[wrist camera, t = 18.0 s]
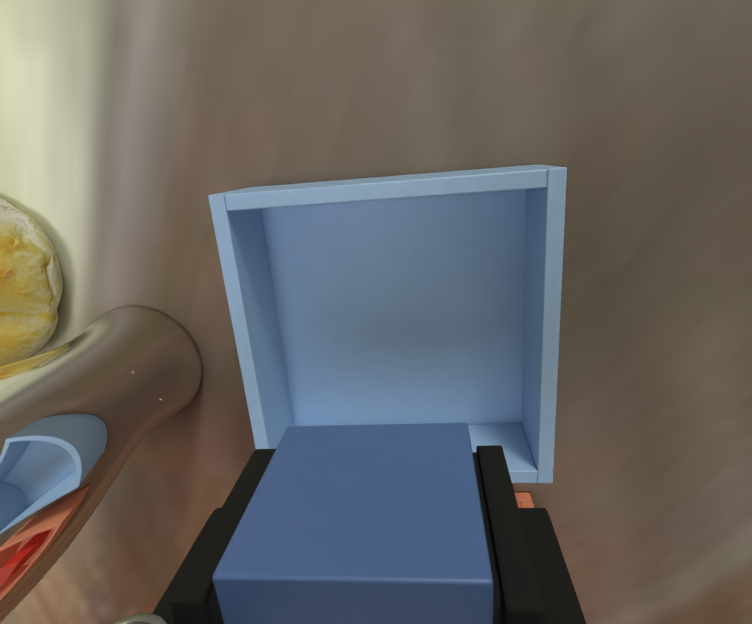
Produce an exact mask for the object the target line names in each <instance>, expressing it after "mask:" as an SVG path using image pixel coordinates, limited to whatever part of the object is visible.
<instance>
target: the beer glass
mask: <svg viewBox="0 0 752 624" xmlns="http://www.w3.org/2000/svg"><path fill="white" fill-rule="evenodd" d="M201 378H202V366H201V360H200V357H199V354H198V351H197V349H196V346H195V345H194V343H193V341H192V340H191V338H190V337H189V335H188V334H187V333H186V332H185V330H184V329H183V328H182V327H181V326H180V325H178V324H177V323H176V322H175V321H174V320H172V319H171V318H169V317H168V316H166V315H164V314H162V313H160V312H158V311H156V310H153V309H150V308H146V307H140V306H126V307H119V308H116V309H113V310H110V311H108V312H106V313H105V314H103V315H101V316H100V317H98V318H97V319H96V320H95V321H93V322H92V323H91V324H90V325H89V326H88V327H86V328H85V329H84V330H83V331H82V332H81V333H80V334H79V335H77V336H76V337H75V338H73V339H72V340H71V341H69V342H67V343H66V344H64V345H62V346H60V347H58V348H55V349H53V350H51V351H49V352H45V353H42V354H39V355H36V356H33V357H30V358H27V359H23V360H20V361H16V362H13V363H10V364H6V365H3V366H0V623H1V622H2V621H3V620H4V619H5V618H6V617H7V616H8V615H9V614H10V613H11V612H12V611H13V610H14V609H15V608H16V607H17V606H18V604H19V603H20V602H21V601H22V600H23V599H24V598H25V597H26V596H27V595H28V594H29V593H30V592H31V591H32V590H33V589H34V587H35V586H36V585H37V584H38V583H39V582H40V580H41V579H42V578H43V577H44V576H45V575H46V573H47V572H48V571H49V570H50V569H51V568H52V566H53V565H54V564H55V563H56V562H57V561H58V559H59V558H60V557H61V556H62V555H63V554H64V552H65V551H66V550H67V549H68V547H69V546H70V544H71V543H72V542H73V540H74V539H75V538H76V536H77V535H78V533H79V532H80V531H81V529H82V528H83V527H84V525H85V524H86V522H87V521H88V520H89V518H90V517H91V516H92V514H93V513H94V511H95V510H96V508H97V506H98V505H99V503H100V502H101V500H102V499H103V497H104V496H105V494H106V493H107V491H108V490H109V488H110V487H111V485H112V483H113V482H114V480H115V479H116V477H117V476H118V474H119V472H120V471H121V469H122V468H123V466H124V464H125V463H126V461H127V460H128V458H129V457H130V456H131V454H132V453H133V451H134V450H135V448H136V447H137V445H138V444H139V443H140V442H141V441H142V440H143V438H144V437H145V436H146V435H147V434H148V433H149V432H151V431H152V430H153V429H154V428H155V427H157V426H158V425H159V424H161V423H163V422H164V421H166V420H167V419H169V418H171V417H172V416H174V415H175V414H177V413H178V412H180V411H181V410H183V409H184V408H185V407H186V406H187V405H188V404H189V403H190V402H191V401H192V400H193V399H194V397H195V395H196V394H197V392H198V389H199V387H200V383H201Z"/></svg>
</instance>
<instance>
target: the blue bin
mask: <svg viewBox="0 0 752 624" xmlns="http://www.w3.org/2000/svg"><path fill="white" fill-rule="evenodd" d="M566 179H567V168H566V167H557V166H548V165H525V166H512V167H500V168H487V169H475V170H462V171H449V172H437V173H424V174H412V175H399V176H387V177H374V178H362V179H349V180H336V181H324V182H311V183H299V184H286V185H274V186H261V187H249V188H244V189H239V190H234V191H229V192H224V193H219V194H213V195H209V196H208V198H209V203H210V209H211V214H212V219H213V225H214V230H215V235H216V241H217V246H218V251H219V257H220V262H221V267H222V272H223V278H224V283H225V288H226V294H227V299H228V304H229V310H230V315H231V320H232V326H233V331H234V336H235V341H236V347H237V352H238V357H239V363H240V368H241V373H242V379H243V384H244V389H245V394H246V400H247V405H248V410H249V416H250V421H251V426H252V432H253V437H254V442H255V448H256V449H276V448H277V446H278V444H279V442H280V440H281V438H282V436H283V434H284V432H285V431H286V429H287V427H289V426H329V425H377V424H425V423H467V424H468V428H469V434H470V440H471V446H472V452H476V447H477V446H489V445H501V446H502V448H503V451H504V455H505V459H506V463H507V466H508V470H509V474H510V478H511V482H512V483H537V482H538V483H553V464H554V442H555V420H556V398H557V376H558V354H559V332H560V311H561V289H562V267H563V245H564V223H565V201H566Z"/></svg>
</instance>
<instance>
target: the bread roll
mask: <svg viewBox="0 0 752 624" xmlns="http://www.w3.org/2000/svg"><path fill="white" fill-rule="evenodd" d="M62 292H63V281H62V277H61V269H60V263H59V260H58V257H57V254H56V252H55V249H54V247H53V245H52V243H51V241H50V239H49V238H48V236H47V235H46V234H45V233H44V232H43V230H42V229H41V228H40V226H39V225H38V224H37V223H36V222H35V220H34V219H33V218H32V217H30V216H28V215H27V214H25V213H23V212H22V211H20V210H18V209H17V208H15V207H13V206H12V205H11V204H9V203H8V202H7V201H5V200H3V199H1V198H0V366H3V365H6V364H10V363H13V362H16V361H20V360H23V359H27V358H29V357H30V356H32V355H34V354H35V353H36V352H37V351H39V350H40V349H41V348H42V347H43V346H44V345H45V344H46V343H47V342H48V341H49V339H50V338H51V336H52V335H53V333H54V331H55V329H56V326H57V322H58V313H57V307H58V304H59V302H60V299H61V295H62Z"/></svg>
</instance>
